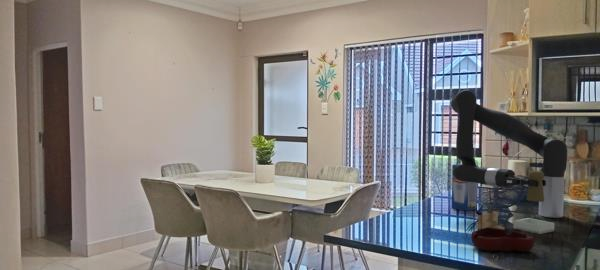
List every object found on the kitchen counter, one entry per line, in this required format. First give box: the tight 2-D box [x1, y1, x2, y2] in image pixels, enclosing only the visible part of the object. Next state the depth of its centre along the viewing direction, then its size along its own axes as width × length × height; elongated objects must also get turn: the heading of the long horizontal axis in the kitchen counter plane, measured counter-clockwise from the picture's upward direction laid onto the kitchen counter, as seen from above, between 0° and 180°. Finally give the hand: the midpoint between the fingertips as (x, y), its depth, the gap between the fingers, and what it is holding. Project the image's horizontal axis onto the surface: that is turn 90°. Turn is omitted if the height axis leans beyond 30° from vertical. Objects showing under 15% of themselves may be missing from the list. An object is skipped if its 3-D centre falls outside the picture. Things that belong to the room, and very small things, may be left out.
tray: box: [512, 217, 555, 235], centre depth 176 cm, size 10×10×3 cm
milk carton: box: [450, 163, 480, 212], centre depth 216 cm, size 10×6×20 cm, turn 25°
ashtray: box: [471, 227, 535, 254], centre depth 150 cm, size 18×16×5 cm
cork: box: [525, 170, 544, 203], centre depth 175 cm, size 6×6×11 cm
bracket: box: [477, 203, 506, 230], centre depth 176 cm, size 10×5×9 cm, turn 124°
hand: (541, 183), depth 173 cm, fingers closed on cork, 4 cm apart
